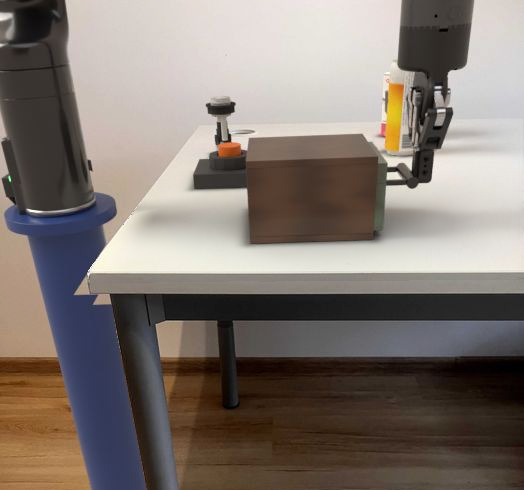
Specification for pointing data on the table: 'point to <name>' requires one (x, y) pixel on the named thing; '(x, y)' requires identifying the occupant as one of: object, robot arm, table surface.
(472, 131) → the table surface
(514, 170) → the table surface
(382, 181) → the drawer
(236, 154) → the button
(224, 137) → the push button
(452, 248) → the table surface
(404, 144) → the beer can
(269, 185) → the cabinet
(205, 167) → the control box
